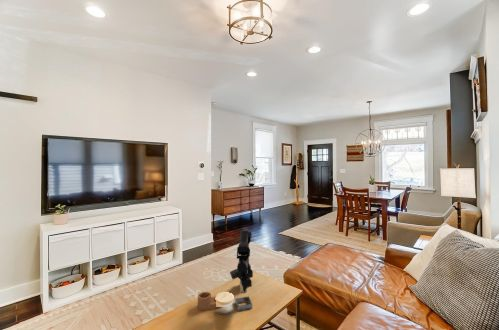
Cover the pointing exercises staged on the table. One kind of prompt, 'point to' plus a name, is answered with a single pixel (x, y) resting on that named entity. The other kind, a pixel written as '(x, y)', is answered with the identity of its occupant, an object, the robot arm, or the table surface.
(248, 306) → the bearing block
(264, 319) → the table surface
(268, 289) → the table surface
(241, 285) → the brass spacer
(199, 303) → the bracket
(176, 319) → the table surface
